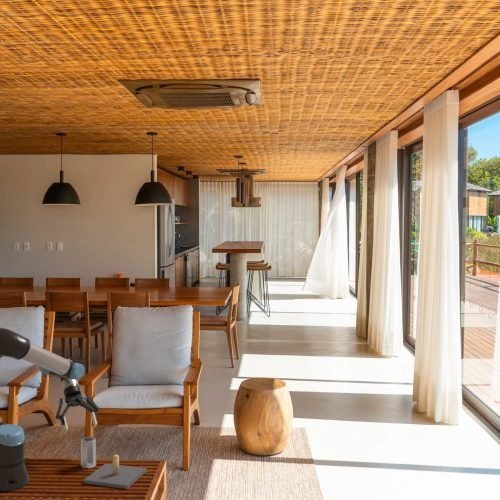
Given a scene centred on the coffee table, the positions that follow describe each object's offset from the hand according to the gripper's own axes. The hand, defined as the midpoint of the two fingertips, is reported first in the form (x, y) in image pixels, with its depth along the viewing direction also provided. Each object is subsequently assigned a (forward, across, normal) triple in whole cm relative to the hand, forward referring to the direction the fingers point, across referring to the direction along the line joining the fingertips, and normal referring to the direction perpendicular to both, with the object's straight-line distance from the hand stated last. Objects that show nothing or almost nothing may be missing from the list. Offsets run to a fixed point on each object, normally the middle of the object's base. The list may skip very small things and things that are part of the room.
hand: (81, 428), depth 263 cm
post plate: (+31, -5, +11) cm, 33 cm away
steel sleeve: (+17, 0, -3) cm, 18 cm away
